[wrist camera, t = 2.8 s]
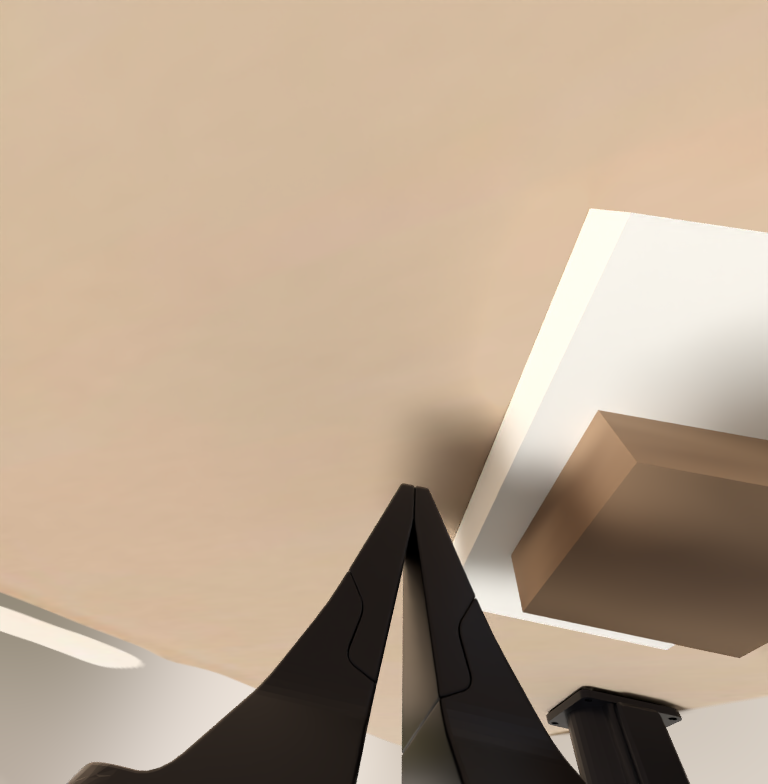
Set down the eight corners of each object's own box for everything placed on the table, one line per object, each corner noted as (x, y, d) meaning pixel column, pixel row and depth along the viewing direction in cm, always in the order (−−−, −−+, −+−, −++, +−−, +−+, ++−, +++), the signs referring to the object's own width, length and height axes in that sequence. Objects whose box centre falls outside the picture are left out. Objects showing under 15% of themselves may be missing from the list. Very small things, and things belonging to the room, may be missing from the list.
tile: (697, 593, 12) (739, 657, 10) (511, 555, 12) (522, 612, 11) (872, 458, 8) (982, 526, 7) (598, 409, 9) (637, 462, 7)
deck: (642, 602, 16) (666, 650, 14) (445, 561, 17) (446, 603, 15) (1022, 272, 8) (1191, 295, 6) (590, 208, 8) (631, 212, 6)
